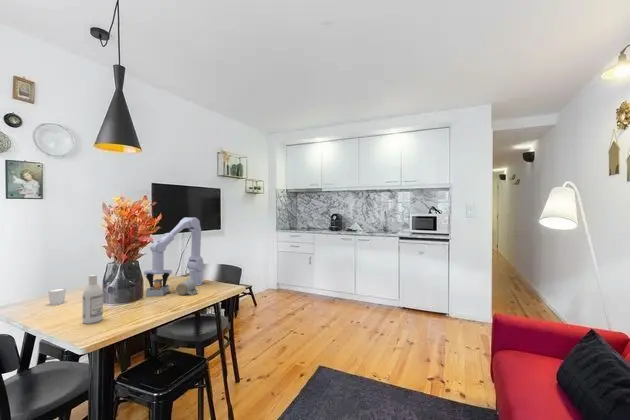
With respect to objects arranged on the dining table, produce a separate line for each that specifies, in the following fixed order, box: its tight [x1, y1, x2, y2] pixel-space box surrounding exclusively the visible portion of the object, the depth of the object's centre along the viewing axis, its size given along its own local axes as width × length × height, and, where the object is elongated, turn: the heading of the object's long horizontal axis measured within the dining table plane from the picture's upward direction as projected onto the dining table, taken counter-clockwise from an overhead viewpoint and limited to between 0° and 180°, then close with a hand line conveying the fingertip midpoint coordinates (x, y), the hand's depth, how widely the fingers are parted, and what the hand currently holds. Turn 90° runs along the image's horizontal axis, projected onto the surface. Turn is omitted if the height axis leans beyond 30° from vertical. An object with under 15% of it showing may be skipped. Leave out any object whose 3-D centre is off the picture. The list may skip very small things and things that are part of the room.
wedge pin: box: [153, 278, 163, 289], centre depth 168 cm, size 4×4×8 cm
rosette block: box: [145, 284, 170, 297], centre depth 168 cm, size 9×9×4 cm
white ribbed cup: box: [48, 287, 67, 306], centre depth 150 cm, size 7×7×7 cm
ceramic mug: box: [176, 278, 198, 296], centre depth 168 cm, size 11×8×8 cm
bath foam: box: [82, 274, 104, 325], centre depth 127 cm, size 7×7×20 cm
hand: (157, 286), depth 168 cm, fingers open, 6 cm apart
